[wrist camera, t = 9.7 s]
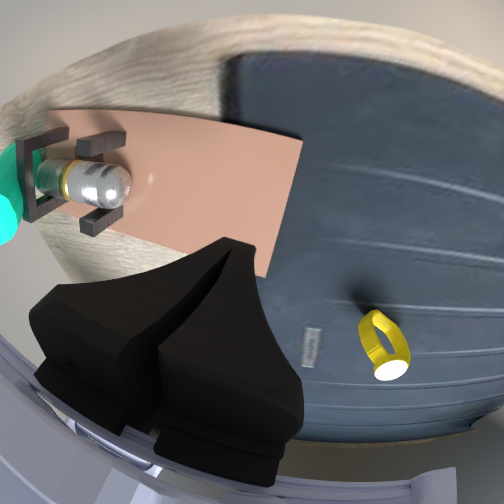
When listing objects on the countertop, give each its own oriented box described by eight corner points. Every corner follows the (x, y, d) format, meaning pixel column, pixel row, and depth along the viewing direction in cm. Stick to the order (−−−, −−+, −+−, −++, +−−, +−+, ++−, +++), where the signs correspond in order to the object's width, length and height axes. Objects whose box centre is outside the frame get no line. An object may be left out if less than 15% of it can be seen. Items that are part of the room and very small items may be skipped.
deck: (303, 140, 17) (303, 141, 16) (266, 273, 23) (265, 277, 22) (51, 110, 19) (46, 111, 18) (53, 205, 25) (49, 207, 24)
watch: (408, 323, 22) (423, 373, 17) (387, 339, 24) (398, 388, 19) (371, 295, 21) (385, 350, 16) (348, 314, 23) (356, 368, 18)
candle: (39, 135, 20) (1, 192, 13) (45, 182, 24) (22, 253, 17) (-4, 146, 17) (-49, 207, 10) (6, 191, 21) (-25, 262, 14)
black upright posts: (126, 131, 18) (76, 144, 14) (123, 216, 22) (82, 245, 17) (59, 127, 19) (15, 139, 14) (61, 197, 23) (22, 219, 18)
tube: (139, 158, 19) (110, 177, 16) (142, 199, 21) (117, 222, 18) (50, 151, 20) (24, 166, 17) (56, 183, 23) (32, 200, 20)
